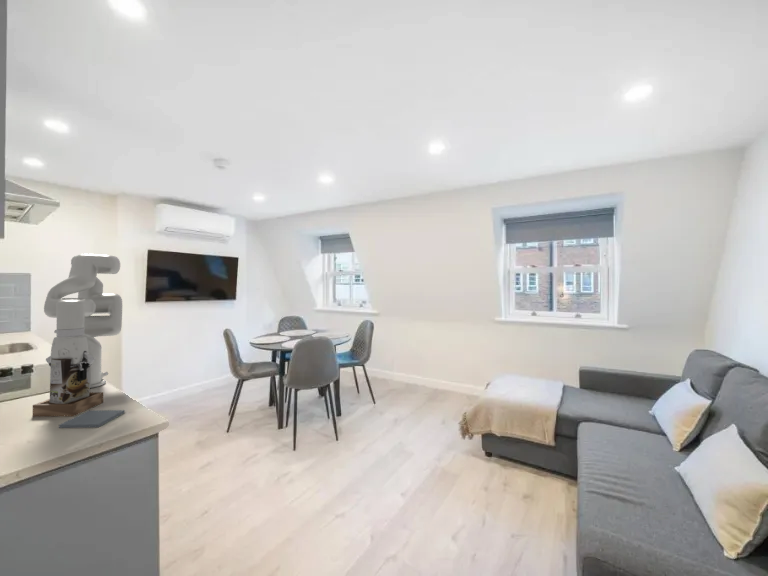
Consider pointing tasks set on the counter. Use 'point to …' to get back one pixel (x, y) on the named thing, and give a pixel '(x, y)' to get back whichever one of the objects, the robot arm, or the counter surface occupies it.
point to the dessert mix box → (67, 382)
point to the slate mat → (92, 419)
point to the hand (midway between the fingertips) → (70, 379)
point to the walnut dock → (67, 406)
